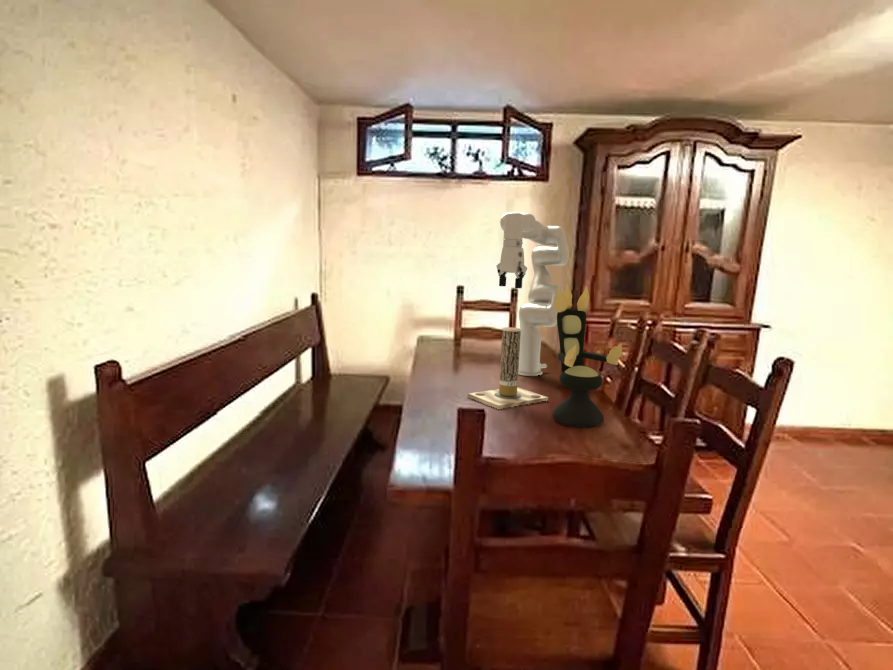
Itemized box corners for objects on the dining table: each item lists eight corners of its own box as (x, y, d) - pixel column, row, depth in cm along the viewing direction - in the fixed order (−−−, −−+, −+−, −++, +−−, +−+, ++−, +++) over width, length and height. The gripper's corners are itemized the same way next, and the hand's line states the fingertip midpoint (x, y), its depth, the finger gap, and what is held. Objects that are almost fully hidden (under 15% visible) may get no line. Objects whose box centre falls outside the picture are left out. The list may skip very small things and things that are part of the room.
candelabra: (568, 432, 184) (579, 288, 177) (531, 412, 204) (539, 282, 197) (617, 426, 192) (629, 288, 185) (576, 408, 212) (585, 283, 205)
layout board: (515, 390, 235) (516, 386, 234) (547, 401, 220) (548, 396, 220) (467, 397, 221) (467, 393, 221) (498, 409, 206) (498, 404, 206)
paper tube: (495, 394, 220) (498, 328, 216) (506, 391, 225) (509, 326, 221) (509, 398, 215) (513, 330, 212) (520, 395, 220) (524, 329, 217)
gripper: (534, 245, 229) (532, 289, 232) (505, 243, 243) (503, 285, 246) (520, 244, 225) (517, 289, 227) (491, 243, 239) (489, 285, 241)
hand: (510, 287), depth 237 cm, fingers open, 9 cm apart
